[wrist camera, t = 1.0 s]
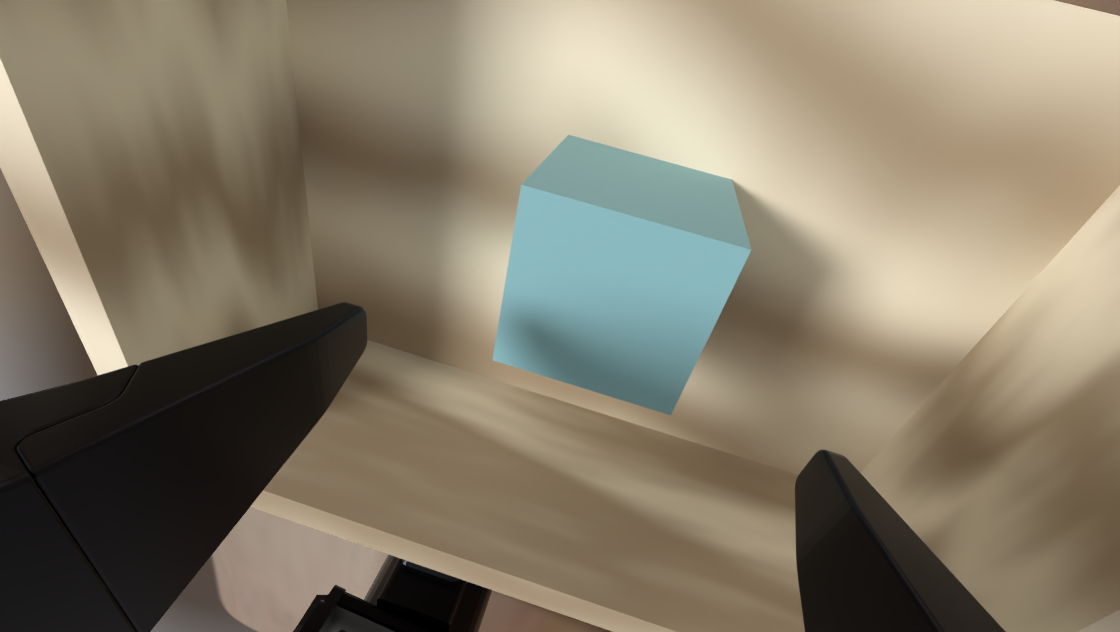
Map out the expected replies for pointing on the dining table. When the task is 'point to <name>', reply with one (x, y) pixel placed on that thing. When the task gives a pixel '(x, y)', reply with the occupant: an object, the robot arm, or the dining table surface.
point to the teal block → (618, 271)
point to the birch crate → (743, 325)
